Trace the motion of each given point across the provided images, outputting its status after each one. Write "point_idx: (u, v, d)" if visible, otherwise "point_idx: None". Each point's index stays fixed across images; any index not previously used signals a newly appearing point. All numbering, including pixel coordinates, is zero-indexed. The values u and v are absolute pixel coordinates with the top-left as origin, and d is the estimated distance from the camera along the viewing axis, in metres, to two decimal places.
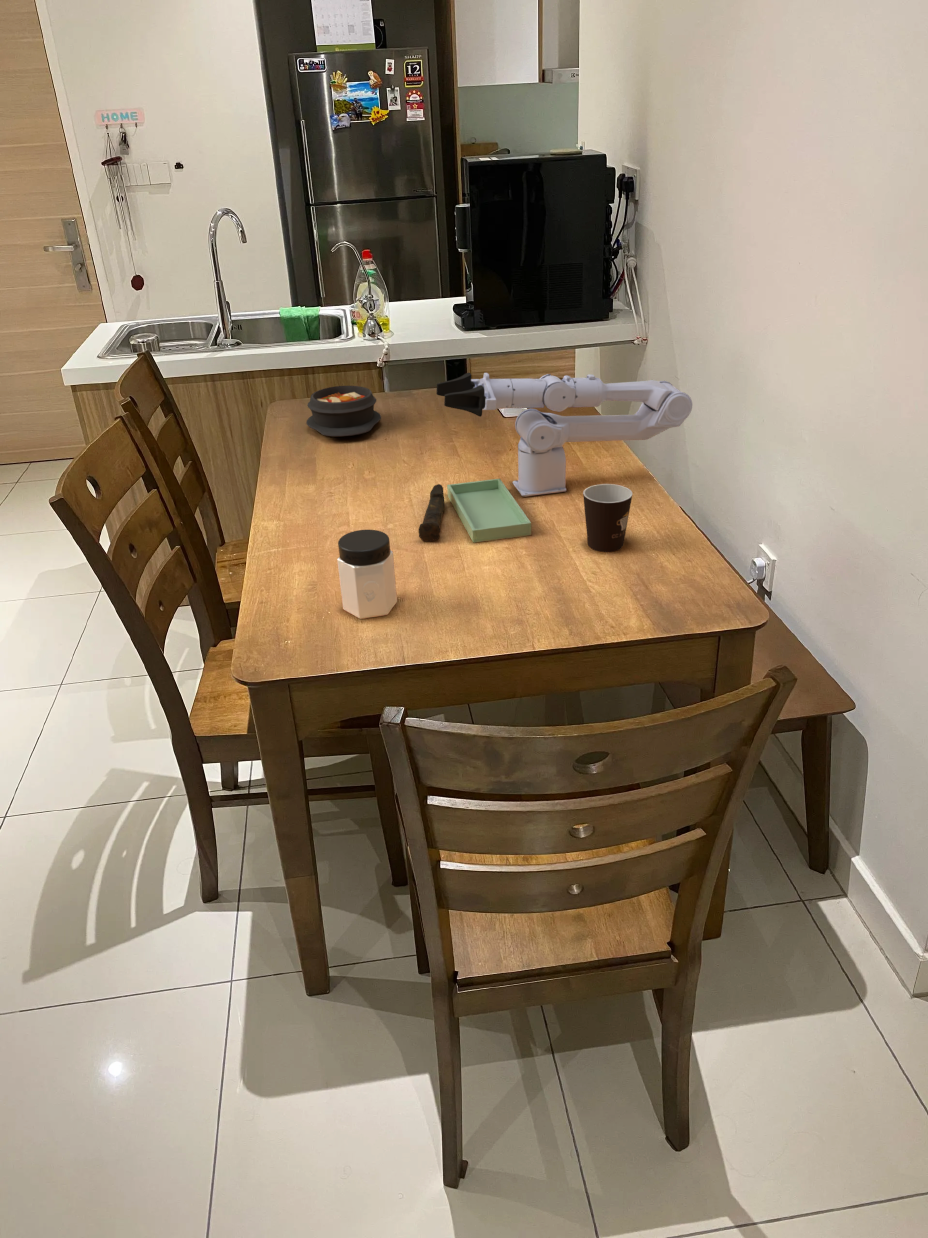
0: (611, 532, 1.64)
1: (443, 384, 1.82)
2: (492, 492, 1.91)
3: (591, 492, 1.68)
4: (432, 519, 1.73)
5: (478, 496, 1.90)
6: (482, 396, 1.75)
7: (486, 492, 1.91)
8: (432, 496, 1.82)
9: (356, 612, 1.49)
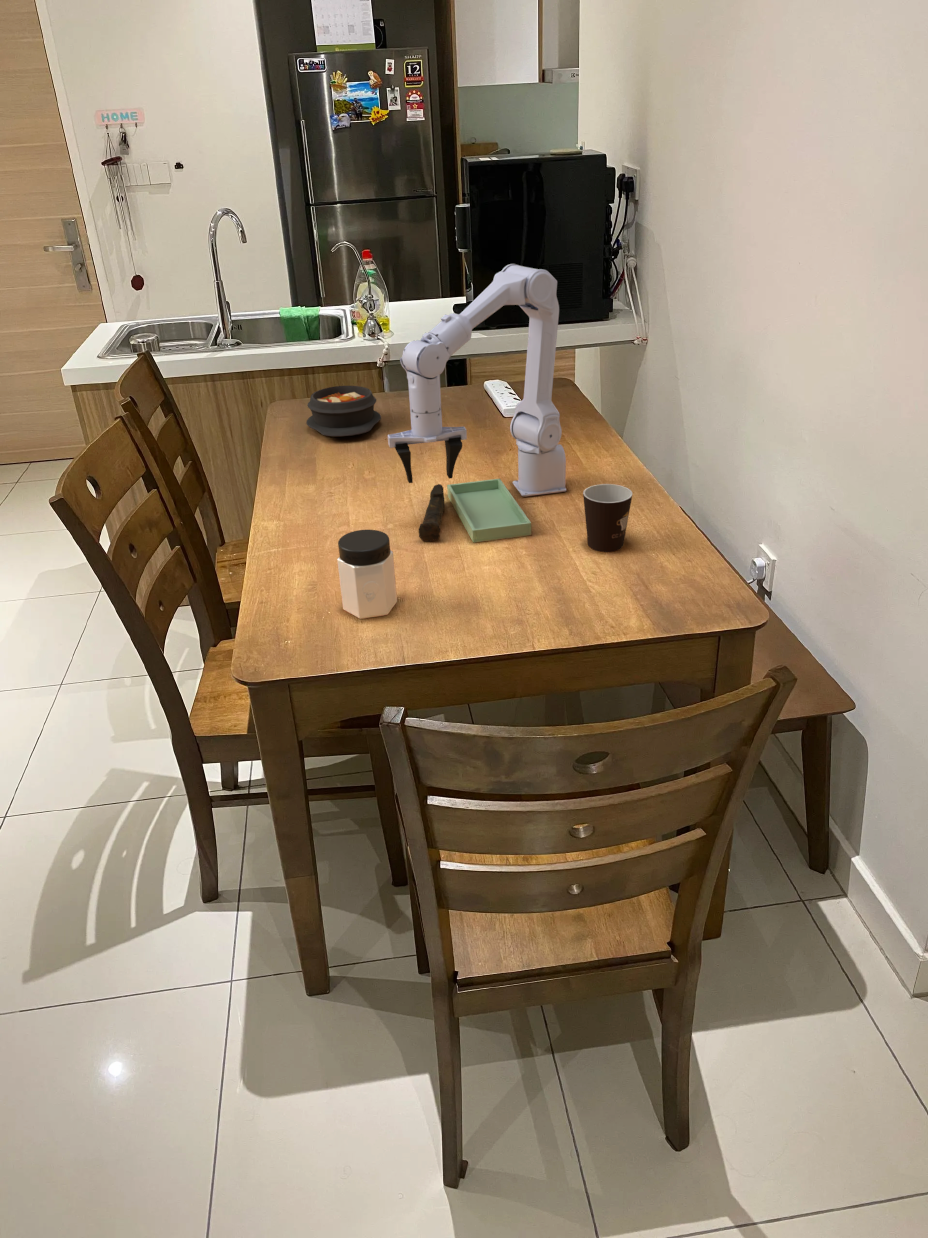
0: (611, 532, 1.64)
1: (411, 476, 1.75)
2: (492, 492, 1.91)
3: (591, 492, 1.68)
4: (432, 519, 1.73)
5: (478, 496, 1.90)
6: None
7: (486, 492, 1.91)
8: (432, 496, 1.82)
9: (356, 612, 1.49)
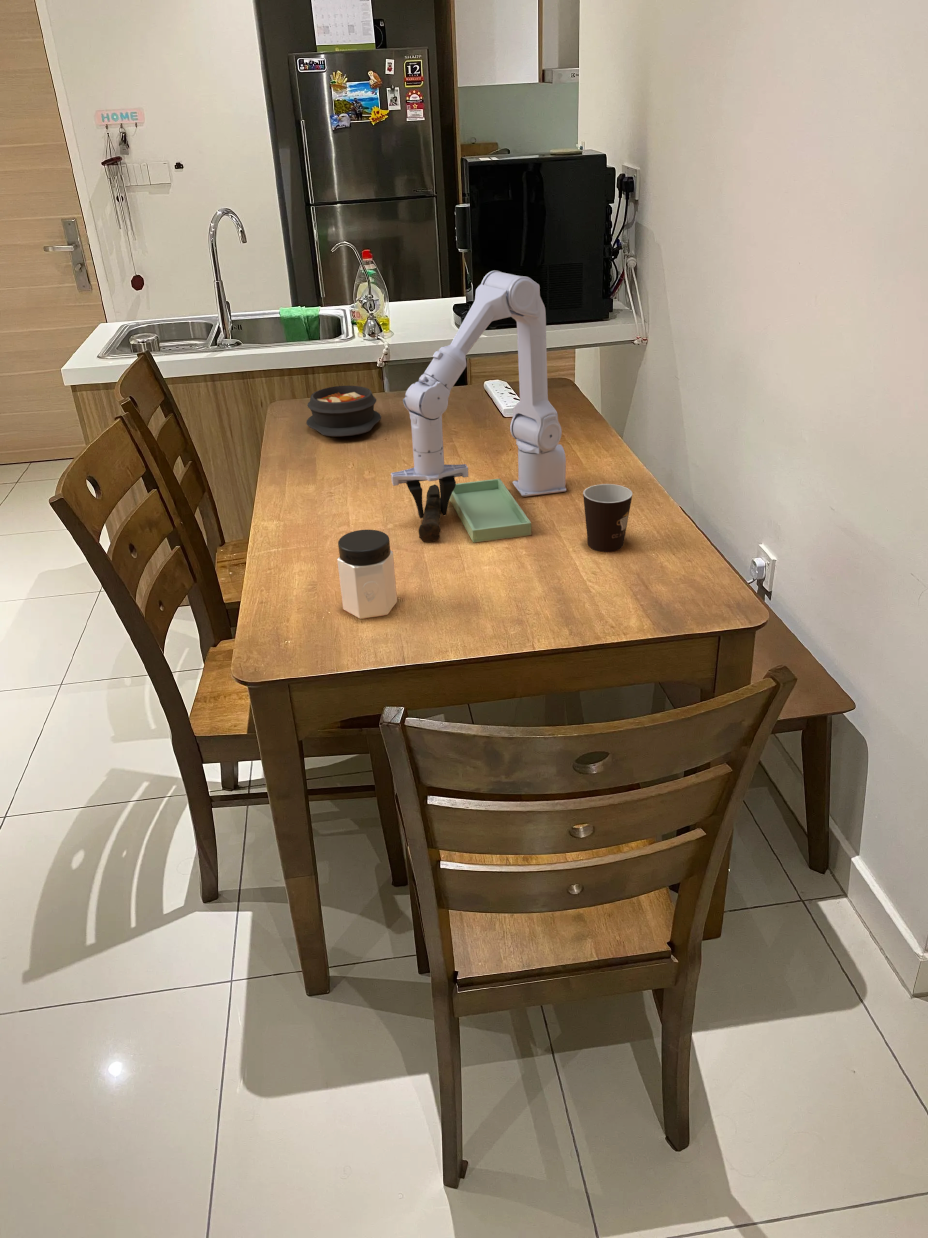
0: (611, 532, 1.64)
1: None
2: (492, 492, 1.91)
3: (591, 492, 1.68)
4: (431, 520, 1.73)
5: (478, 496, 1.90)
6: None
7: (486, 492, 1.91)
8: (429, 497, 1.82)
9: (356, 612, 1.49)
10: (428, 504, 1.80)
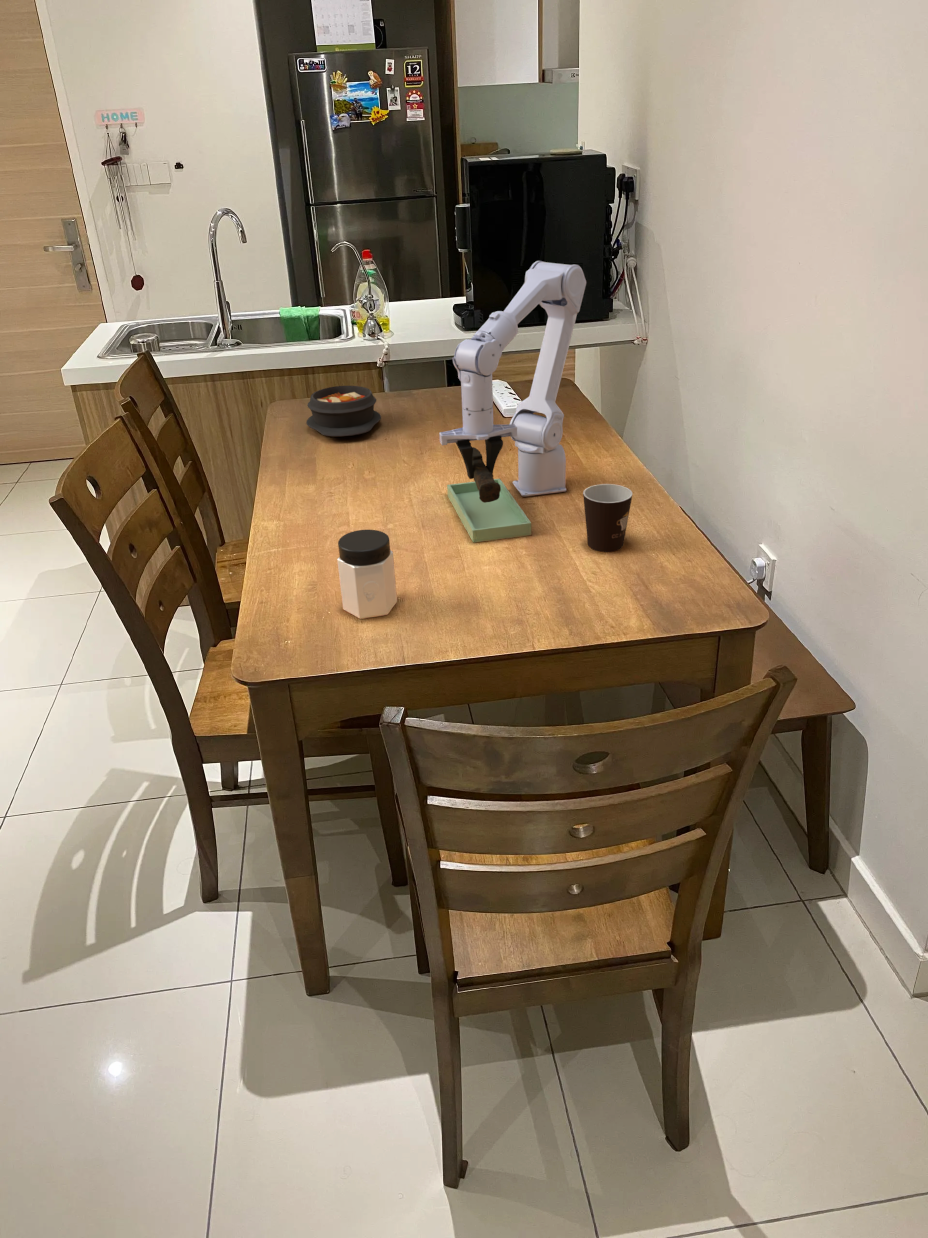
0: (611, 532, 1.64)
1: None
2: None
3: (591, 492, 1.68)
4: (489, 479, 1.71)
5: (478, 496, 1.90)
6: None
7: None
8: (473, 459, 1.80)
9: (356, 612, 1.49)
10: (476, 466, 1.77)
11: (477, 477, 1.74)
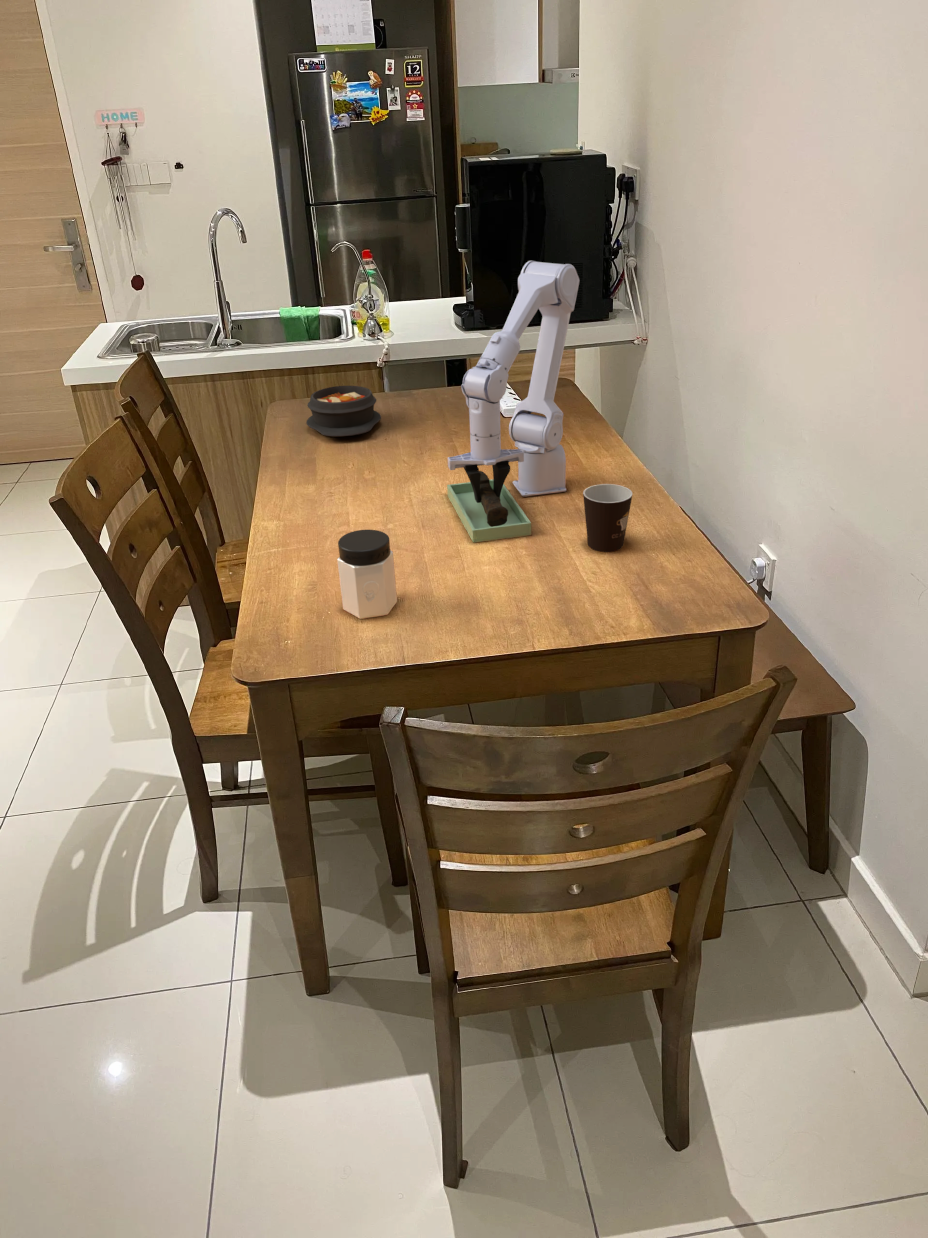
0: (611, 532, 1.64)
1: None
2: None
3: (591, 492, 1.68)
4: (497, 504, 1.74)
5: None
6: None
7: None
8: (480, 483, 1.82)
9: (356, 612, 1.49)
10: (483, 490, 1.80)
11: (485, 501, 1.76)
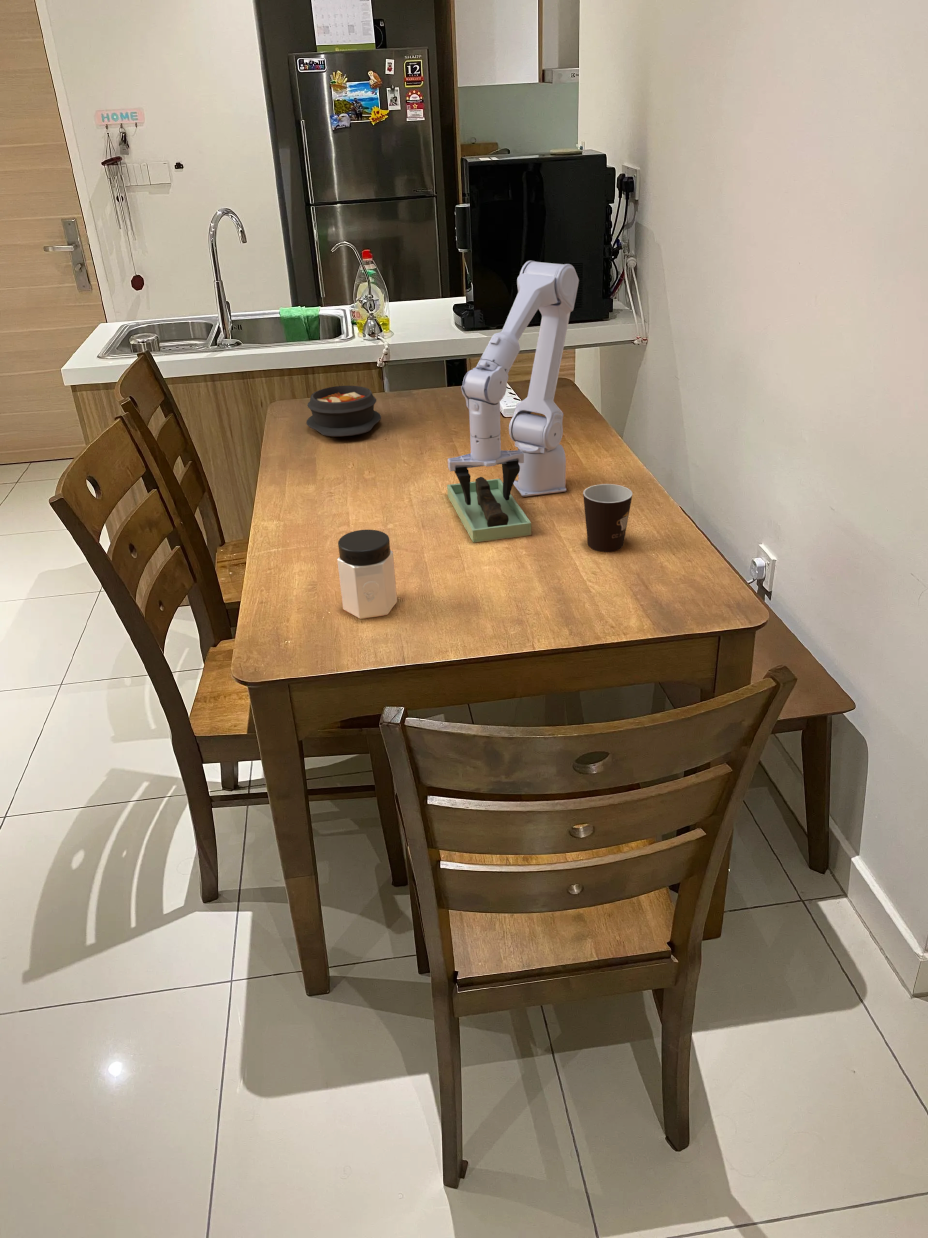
0: (611, 532, 1.64)
1: None
2: (492, 492, 1.91)
3: (591, 492, 1.68)
4: (497, 510, 1.75)
5: None
6: None
7: None
8: (481, 489, 1.83)
9: (356, 612, 1.49)
10: (484, 496, 1.81)
11: (485, 507, 1.77)
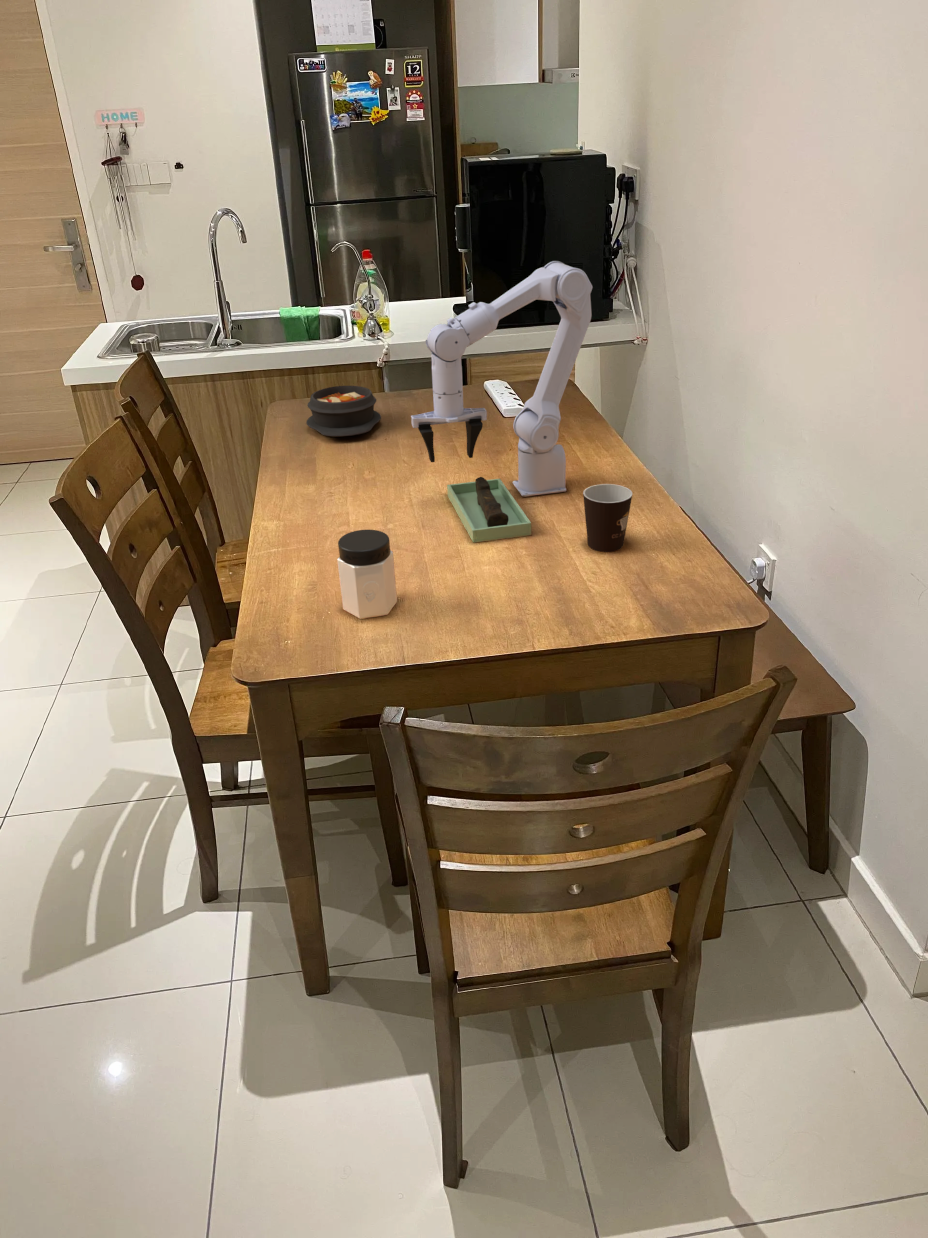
0: (611, 532, 1.64)
1: None
2: (492, 492, 1.91)
3: (591, 492, 1.68)
4: (497, 510, 1.75)
5: None
6: None
7: None
8: (481, 489, 1.83)
9: (356, 612, 1.49)
10: (484, 496, 1.81)
11: (485, 507, 1.77)
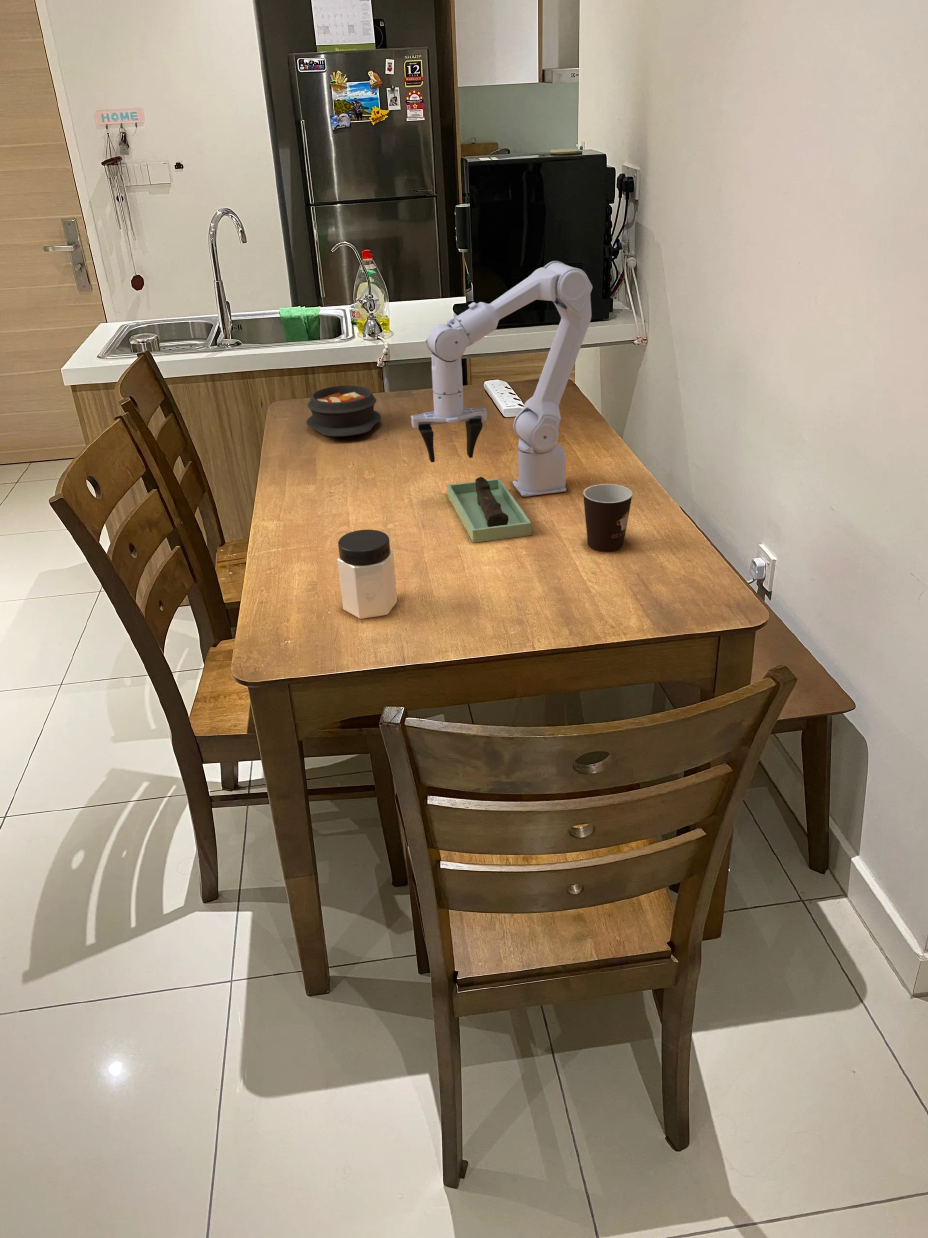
0: (611, 532, 1.64)
1: None
2: (492, 492, 1.91)
3: (591, 492, 1.68)
4: (497, 510, 1.75)
5: None
6: None
7: None
8: (481, 489, 1.83)
9: (356, 612, 1.49)
10: (484, 496, 1.81)
11: (485, 507, 1.77)
